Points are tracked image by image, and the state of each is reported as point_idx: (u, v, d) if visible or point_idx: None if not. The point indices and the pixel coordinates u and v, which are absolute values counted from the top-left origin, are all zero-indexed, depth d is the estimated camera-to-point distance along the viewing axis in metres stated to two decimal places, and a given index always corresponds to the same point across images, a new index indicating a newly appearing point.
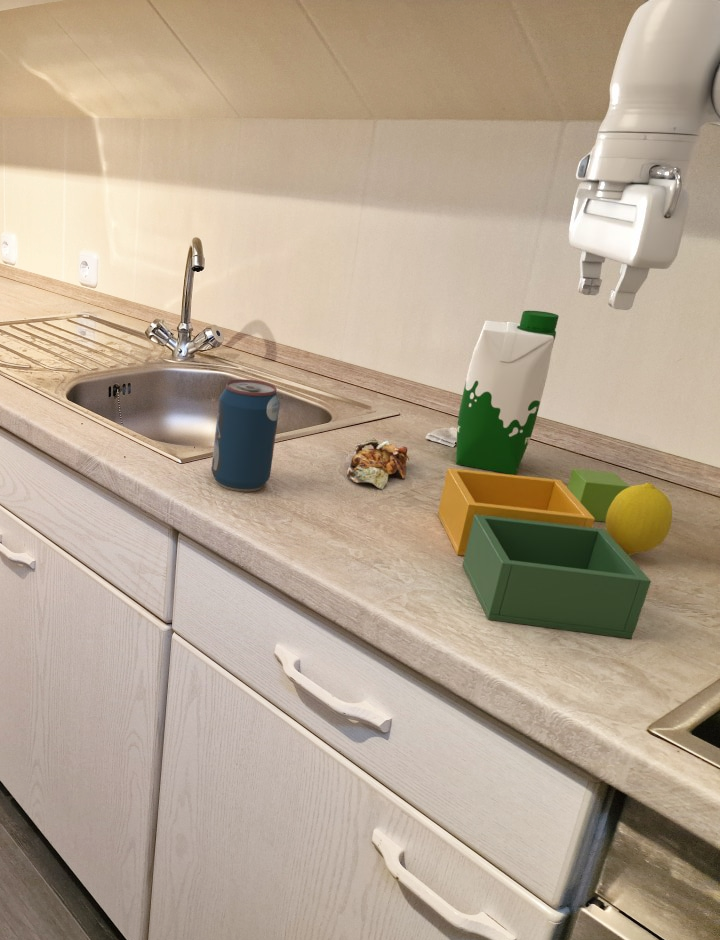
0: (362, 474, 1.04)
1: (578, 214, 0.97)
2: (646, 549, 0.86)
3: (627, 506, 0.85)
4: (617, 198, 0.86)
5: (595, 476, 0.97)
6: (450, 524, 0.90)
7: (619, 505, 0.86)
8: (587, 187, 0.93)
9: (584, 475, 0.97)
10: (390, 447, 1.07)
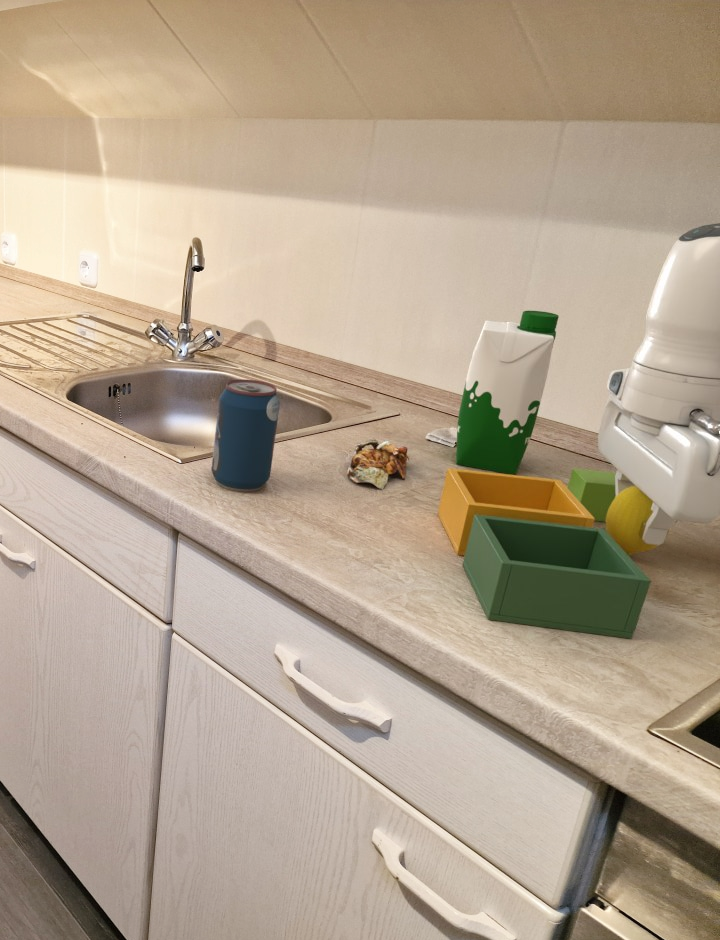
0: (362, 474, 1.04)
1: (609, 424, 0.92)
2: (646, 549, 0.86)
3: (627, 506, 0.85)
4: (654, 434, 0.81)
5: (595, 476, 0.97)
6: (450, 524, 0.90)
7: (619, 505, 0.86)
8: (620, 405, 0.87)
9: (584, 475, 0.97)
10: (390, 447, 1.07)
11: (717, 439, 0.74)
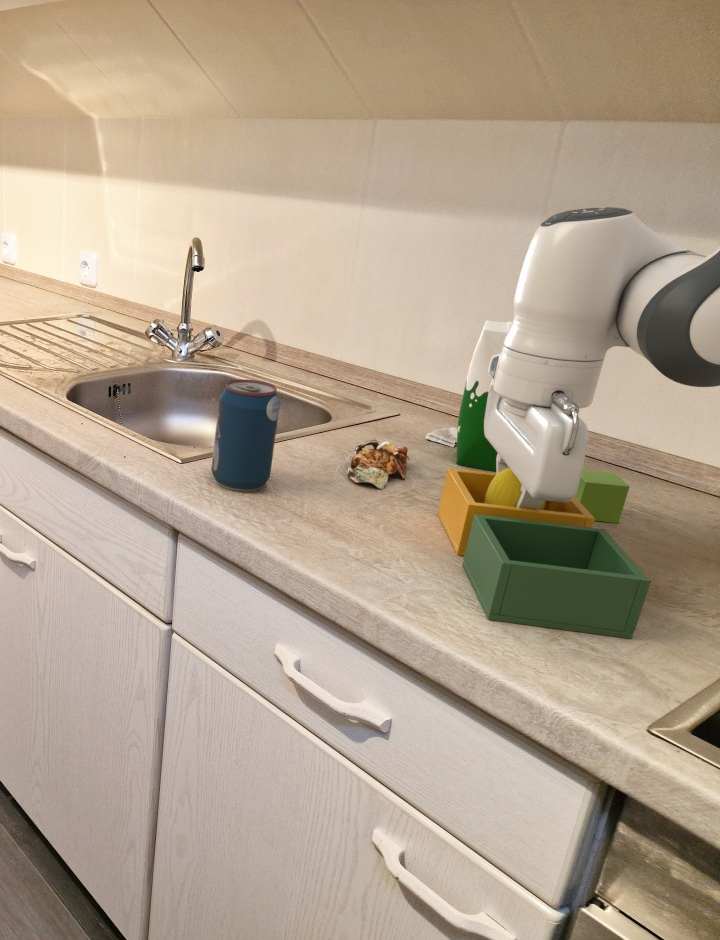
0: (362, 474, 1.04)
1: (492, 408, 0.93)
2: None
3: (502, 487, 0.87)
4: (522, 416, 0.83)
5: (595, 476, 0.97)
6: (450, 524, 0.90)
7: (495, 486, 0.87)
8: None
9: (584, 475, 0.97)
10: (390, 447, 1.07)
11: (570, 419, 0.75)
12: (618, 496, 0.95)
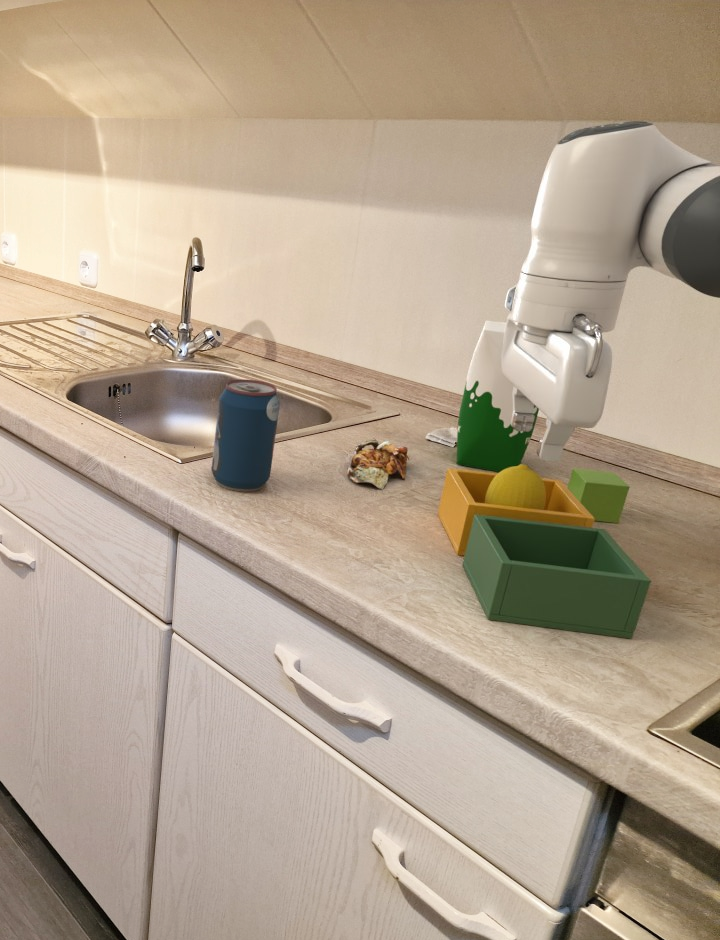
0: (362, 474, 1.04)
1: (509, 344, 0.91)
2: None
3: (502, 487, 0.87)
4: (542, 343, 0.80)
5: (595, 476, 0.97)
6: (450, 524, 0.90)
7: (495, 486, 0.87)
8: (515, 321, 0.86)
9: (584, 475, 0.97)
10: (390, 447, 1.07)
11: (593, 339, 0.73)
12: (618, 496, 0.95)
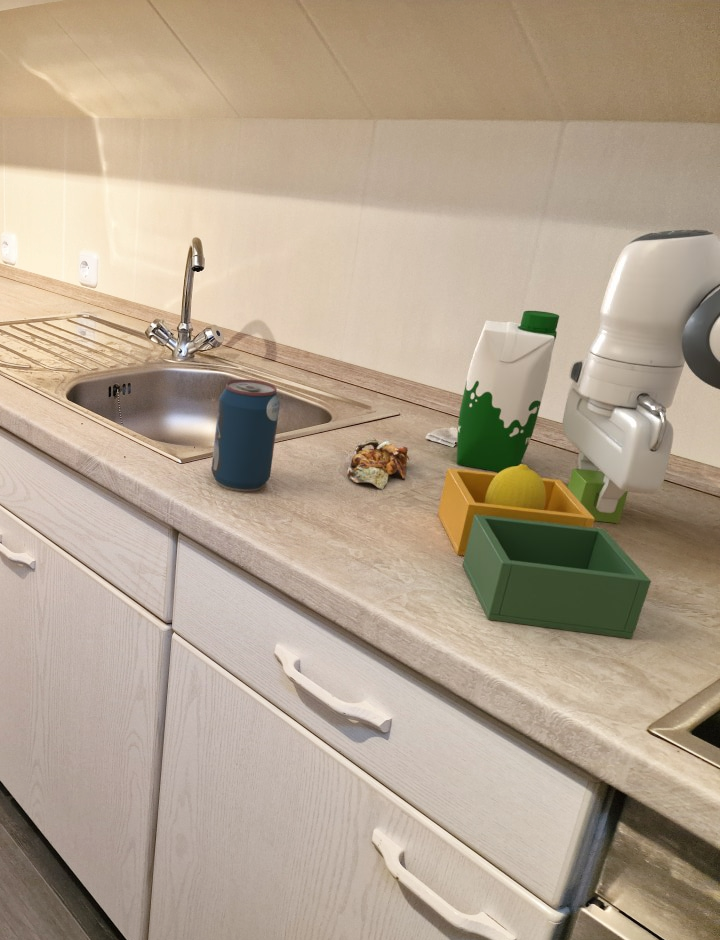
0: (362, 474, 1.04)
1: (571, 409, 1.02)
2: None
3: (502, 487, 0.87)
4: (607, 416, 0.92)
5: (595, 476, 0.97)
6: (450, 524, 0.90)
7: (495, 486, 0.87)
8: (579, 392, 0.98)
9: (584, 475, 0.97)
10: (390, 447, 1.07)
11: (658, 419, 0.84)
12: None
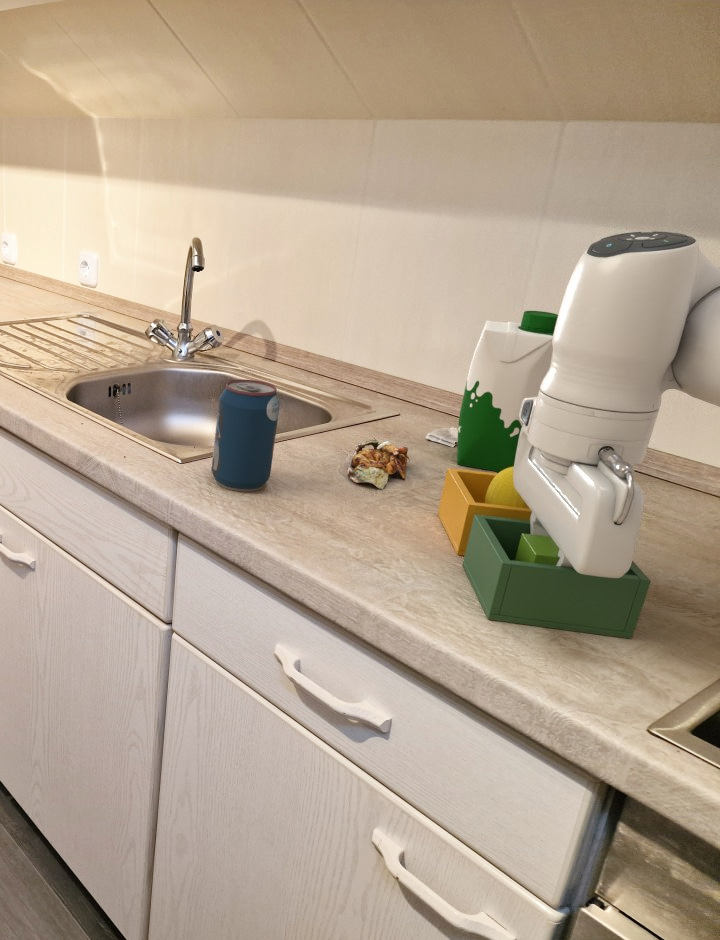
0: (362, 474, 1.04)
1: (523, 457, 0.82)
2: None
3: (502, 487, 0.87)
4: (562, 473, 0.72)
5: (548, 545, 0.76)
6: (450, 524, 0.90)
7: (495, 486, 0.87)
8: None
9: (534, 544, 0.76)
10: (390, 447, 1.07)
11: (624, 484, 0.64)
12: None
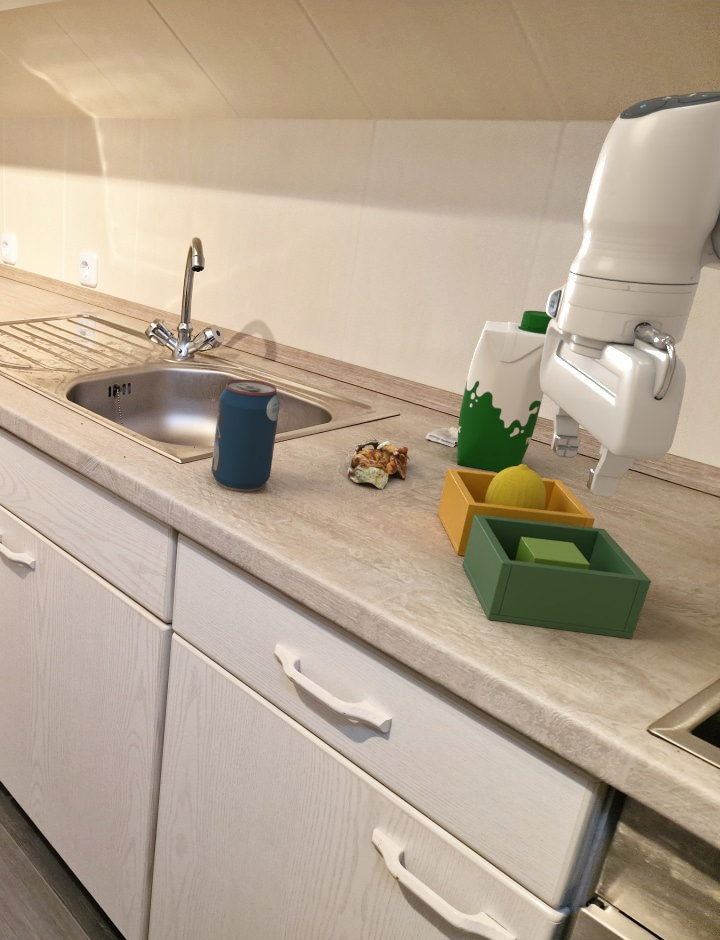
0: (362, 474, 1.04)
1: (550, 355, 0.78)
2: None
3: (502, 487, 0.87)
4: (595, 357, 0.68)
5: (547, 548, 0.76)
6: (450, 524, 0.90)
7: (495, 486, 0.87)
8: (559, 330, 0.74)
9: (533, 547, 0.77)
10: (390, 447, 1.07)
11: (664, 354, 0.60)
12: None
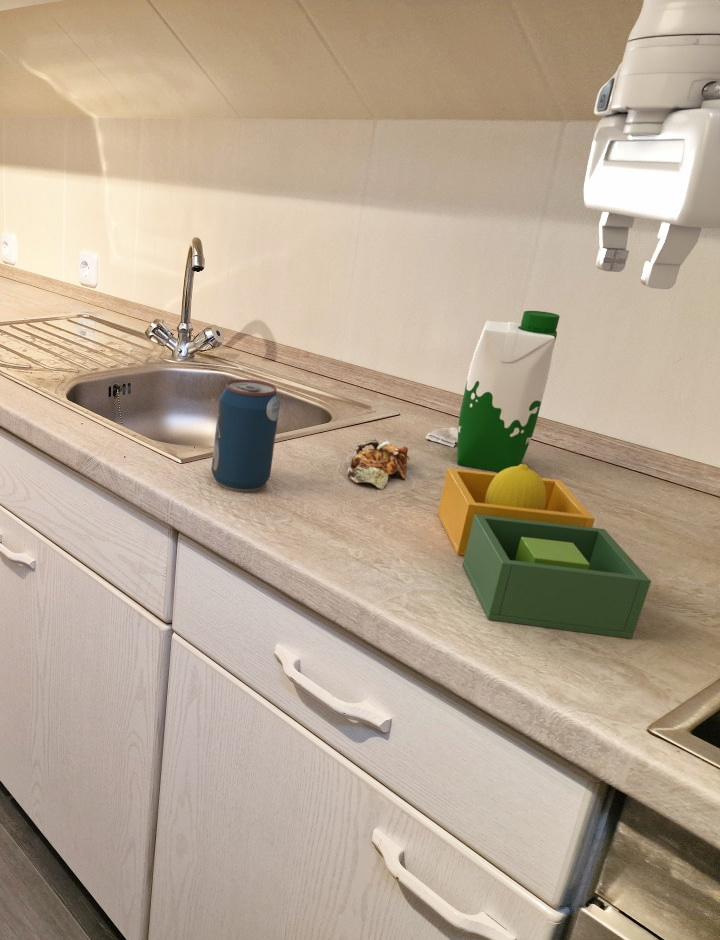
0: (362, 474, 1.04)
1: (597, 163, 0.72)
2: None
3: (502, 487, 0.87)
4: (654, 132, 0.62)
5: (547, 548, 0.76)
6: (450, 524, 0.90)
7: (495, 486, 0.87)
8: (610, 123, 0.68)
9: (533, 547, 0.77)
10: (390, 447, 1.07)
11: None
12: None
